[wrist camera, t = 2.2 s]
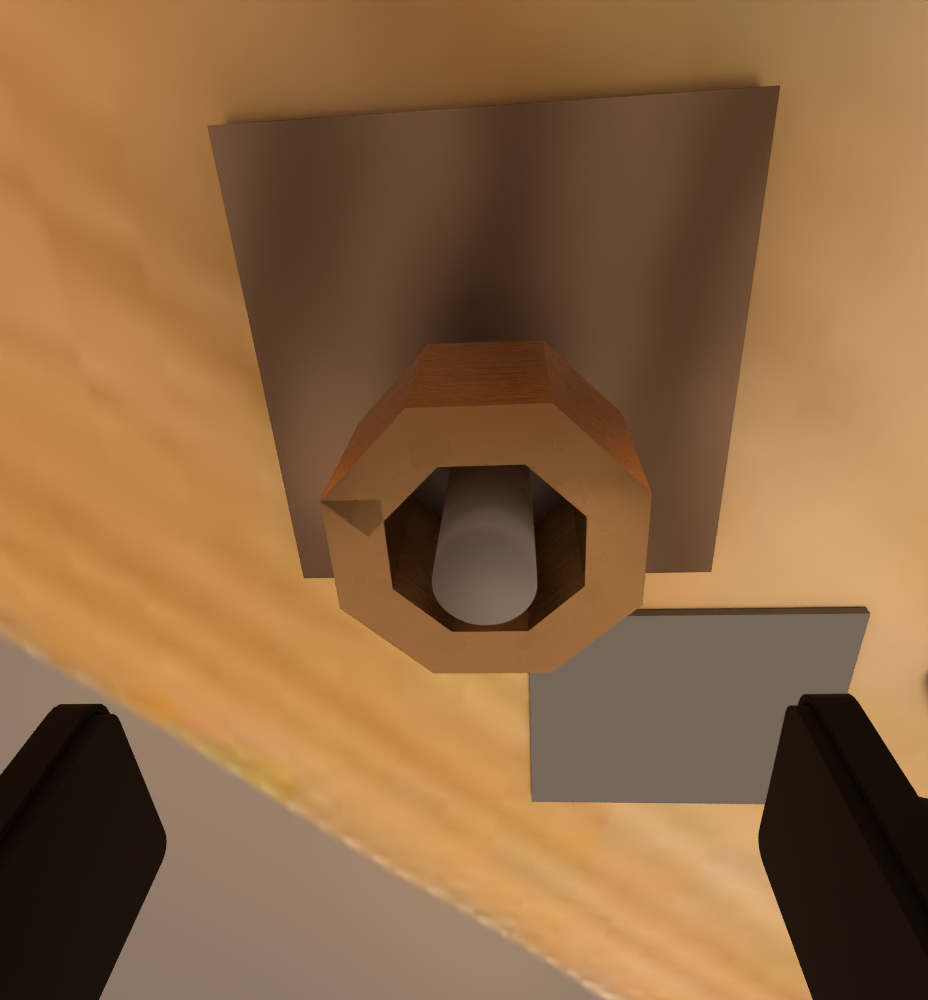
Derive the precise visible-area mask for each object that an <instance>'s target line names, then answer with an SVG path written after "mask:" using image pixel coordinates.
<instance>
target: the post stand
mask: <svg viewBox="0 0 928 1000" xmlns="http://www.w3.org/2000/svg"><path fill="white" fill-rule="evenodd" d="M779 90H780V86H765V87H751V88H737V89H723V90H709V91H694V92H680V93H666V94H652V95H637V96H623V97H609V98H595V99H581V100H566V101H552V102H538V103H524V104H510V105H495V106H481V107H467V108H453V109H438V110H424V111H410V112H396V113H382V114H367V115H353V116H339V117H325V118H311V119H296V120H282V121H268V122H254V123H239V124H225V125H211V126H208V130H209V135H210V140H211V144H212V149H213V154H214V158H215V163H216V168H217V172H218V177H219V182H220V187H221V191H222V196H223V201H224V205H225V210H226V215H227V219H228V224H229V229H230V233H231V238H232V243H233V248H234V252H235V257H236V262H237V266H238V271H239V276H240V280H241V285H242V290H243V295H244V299H245V304H246V309H247V313H248V318H249V323H250V327H251V332H252V337H253V341H254V346H255V351H256V356H257V360H258V365H259V370H260V374H261V379H262V384H263V388H264V393H265V398H266V402H267V407H268V412H269V417H270V421H271V426H272V431H273V435H274V440H275V445H276V449H277V454H278V459H279V463H280V468H281V473H282V478H283V482H284V487H285V492H286V496H287V501H288V506H289V510H290V515H291V520H292V525H293V529H294V534H295V539H296V543H297V548H298V553H299V557H300V562H301V567H302V571H303V576H304V578H334V573H333V568H332V562H331V557H330V552H329V546H328V541H327V536H326V530H325V525H324V520H323V514H322V509H321V503H320V500H321V498H322V496H323V494H324V492H325V490H326V488H327V486H328V484H329V482H330V480H331V478H332V476H333V474H334V472H335V470H336V468H337V466H338V464H339V462H340V460H341V458H342V456H343V453H344V451H345V449H346V447H347V445H348V443H349V441H350V439H351V437H352V435H353V433H354V431H355V429H356V427H357V425H358V423H359V422H360V421H361V419H362V418H363V417H364V416H365V415H366V414H367V413H368V412H369V410H370V409H371V408H372V407H373V406H374V405H375V404H376V402H377V401H378V400H379V399H380V398H381V397H382V396H383V395H384V393H385V392H386V391H387V390H388V389H389V388H390V387H391V385H392V384H393V383H394V382H395V381H396V380H397V379H398V378H399V376H400V375H401V374H402V373H403V372H404V371H405V370H406V369H407V367H408V366H409V365H410V364H411V363H412V362H413V361H414V359H415V358H416V357H417V356H418V355H419V354H420V353H421V352H422V350H423V349H424V348H425V347H426V346H427V345H428V344H449V343H472V342H496V341H519V340H542V339H543V340H544V341H545V342H546V343H547V344H548V345H549V346H550V347H551V348H552V349H553V350H554V351H555V352H557V353H558V354H559V355H560V356H561V357H562V358H563V359H564V360H565V361H566V362H567V363H568V364H569V365H570V366H572V367H573V368H574V369H575V370H576V371H577V372H578V373H579V374H580V375H581V376H582V377H583V378H584V379H585V380H587V381H588V382H589V383H590V384H591V385H592V386H593V387H594V388H595V389H596V390H597V391H598V392H599V393H600V394H601V395H603V396H604V397H605V398H606V399H607V400H608V401H609V402H610V403H611V404H612V405H613V406H614V407H615V408H616V409H618V410H619V411H620V412H621V413H622V416H623V418H624V421H625V423H626V426H627V429H628V431H629V434H630V437H631V439H632V442H633V444H634V447H635V450H636V452H637V455H638V457H639V460H640V463H641V465H642V468H643V471H644V473H645V476H646V478H647V481H648V484H649V486H650V489H651V491H652V499H651V511H650V522H649V534H648V546H647V558H646V570H645V573H673V572H711V570H712V563H713V556H714V549H715V542H716V535H717V528H718V521H719V514H720V507H721V499H722V492H723V485H724V478H725V471H726V464H727V457H728V450H729V443H730V436H731V429H732V422H733V415H734V408H735V401H736V393H737V386H738V379H739V372H740V365H741V358H742V351H743V344H744V337H745V330H746V323H747V316H748V309H749V302H750V295H751V288H752V280H753V273H754V266H755V259H756V252H757V245H758V238H759V231H760V224H761V217H762V210H763V203H764V196H765V189H766V182H767V174H768V167H769V160H770V153H771V146H772V139H773V132H774V125H775V118H776V111H777V104H778V97H779ZM415 497H416V498H417V499H419V500H420V501H421V502H422V503H424V504H425V505H426V506H428V507H429V508H430V509H431V510H433V511H434V512H435V513H437V514H438V515H439V516H440V517H442V520H441V526H440V532H439V538H438V544H437V550H436V556H435V562H434V568H433V574H432V588H433V592H434V595H435V597H436V599H437V601H438V602H439V604H440V605H441V606H442V607H443V608H444V609H445V610H446V611H447V612H448V613H449V614H451V615H452V616H454V617H455V618H457V619H459V620H462V621H464V622H467V623H471V624H476V625H496V624H501V623H505V622H508V621H510V620H512V619H514V618H516V617H518V616H519V615H521V614H522V613H523V612H524V611H525V610H526V609H527V608H528V607H529V606H530V605H531V603H532V601H533V600H534V597H535V595H536V591H537V568H536V552H535V536H534V524H535V523H536V522H537V521H539V520H540V519H541V518H542V517H543V516H544V515H545V514H547V513H548V512H549V511H550V510H551V509H552V508H553V507H554V506H556V505H557V504H558V503H559V502H560V501H561V500H562V499H564V497H563V496H562V495H561V494H559V493H558V492H557V491H556V490H555V489H554V488H552V487H551V486H550V485H549V484H548V483H546V482H545V481H544V480H543V479H542V478H541V477H539V476H538V475H537V474H536V473H535V472H534V471H532V470H531V469H530V468H529V467H528V466H527V465H490V466H455V467H437V468H436V469H435V470H434V471H433V472H432V473H431V474H430V475H429V476H428V477H427V478H426V479H425V480H424V481H423V482H422V483H421V484H420V485H419V486H418V487H417V488H416V489H415Z"/></svg>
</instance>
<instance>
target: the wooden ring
mask: <svg viewBox="0 0 928 1000" xmlns="http://www.w3.org/2000/svg"><path fill="white" fill-rule="evenodd" d="M490 465H527V466H528V467H529V468H530V469H531V470H532V471H534V472H535V473H536V474H537V475H538V476H539V477H541V478H542V479H543V480H544V481H545V482H546V483H548V484H549V485H550V486H551V487H552V488H554V489H555V490H556V491H557V492H558V493H559V494H561V495H562V496H563V497H564V499H562V500H561V501H560V502H559V503H558V504H557V505H556V506H554V507H553V508H552V509H551V510H550V511H549V512H548V513H547V514H545V515H544V516H543V517H542V518H541V519H540V520H539V521H537V522H536V523H535V524H534V536H535V552H536V568H537V591H536V595H535V597H534V600H533V601H532V603H531V605H530V606H529V607H528V608H527V609H526V610H525V611H524V612H523V613H522V614H521V615H519V616H518V617H516V618H514V619H512V620H510V621H508V622H505V623H501V624H496V625H476V624H471V623H467V622H464V621H462V620H459V619H457V618H455V617H454V616H452V615H451V614H449V613H448V612H447V611H446V610H445V609H444V608H443V607H442V606H441V605H440V604H439V602H438V601H437V599H436V597H435V595H434V592H433V588H432V574H433V568H434V562H435V556H436V550H437V544H438V538H439V532H440V526H441V520H442V517H440V516H439V515H438V514H437V513H435V512H434V511H433V510H431V509H430V508H429V507H428V506H426V505H425V504H424V503H422V502H421V501H420V500H419V499H417V498H416V497H415V489H416V488H417V487H418V486H419V485H420V484H421V483H422V482H423V481H424V480H425V479H426V478H427V477H428V476H429V475H430V474H431V473H432V472H433V471H434V470H435V469H436V468H437V467H455V466H490ZM651 499H652V491H651V489H650V486H649V484H648V481H647V478H646V476H645V473H644V471H643V468H642V465H641V463H640V460H639V457H638V455H637V452H636V450H635V447H634V444H633V442H632V439H631V437H630V434H629V431H628V429H627V426H626V423H625V421H624V418H623V416H622V413H621V412H620V411H619V410H618V409H616V408H615V407H614V406H613V405H612V404H611V403H610V402H609V401H608V400H607V399H606V398H605V397H604V396H603V395H601V394H600V393H599V392H598V391H597V390H596V389H595V388H594V387H593V386H592V385H591V384H590V383H589V382H588V381H587V380H585V379H584V378H583V377H582V376H581V375H580V374H579V373H578V372H577V371H576V370H575V369H574V368H573V367H572V366H570V365H569V364H568V363H567V362H566V361H565V360H564V359H563V358H562V357H561V356H560V355H559V354H558V353H557V352H555V351H554V350H553V349H552V348H551V347H550V346H549V345H548V344H547V343H546V342H545V341H544V340H543V339H542V340H519V341H496V342H472V343H449V344H428V345H427V346H426V347H425V348H424V349H423V350H422V352H421V353H420V354H419V355H418V356H417V357H416V358H415V359H414V361H413V362H412V363H411V364H410V365H409V366H408V367H407V369H406V370H405V371H404V372H403V373H402V374H401V375H400V376H399V378H398V379H397V380H396V381H395V382H394V383H393V384H392V385H391V387H390V388H389V389H388V390H387V391H386V392H385V393H384V395H383V396H382V397H381V398H380V399H379V400H378V401H377V402H376V404H375V405H374V406H373V407H372V408H371V409H370V410H369V412H368V413H367V414H366V415H365V416H364V417H363V418H362V419H361V421H360V422H359V423H358V425H357V427H356V429H355V431H354V433H353V435H352V437H351V439H350V441H349V443H348V445H347V447H346V449H345V451H344V453H343V456H342V458H341V460H340V462H339V464H338V466H337V468H336V470H335V472H334V474H333V476H332V478H331V480H330V482H329V484H328V486H327V488H326V490H325V492H324V494H323V496H322V498H321V500H320V503H321V509H322V514H323V520H324V525H325V530H326V536H327V541H328V546H329V552H330V557H331V562H332V568H333V573H334V579H335V584H336V589H337V595H338V600H339V605H340V609H342V610H343V611H344V612H346V613H347V614H349V615H350V616H352V617H353V618H355V619H356V620H357V621H359V622H360V623H362V624H363V625H365V626H366V627H368V628H369V629H370V630H372V631H373V632H375V633H376V634H378V635H379V636H381V637H382V638H383V639H385V640H386V641H388V642H389V643H391V644H392V645H394V646H395V647H396V648H398V649H399V650H401V651H402V652H404V653H405V654H406V655H408V656H409V657H411V658H412V659H414V660H415V661H417V662H418V663H419V664H421V665H422V666H424V667H425V668H427V669H428V670H430V671H431V672H432V673H552V672H553V671H555V670H556V669H557V668H559V667H560V666H561V665H563V664H564V663H565V662H567V661H568V660H569V659H571V658H572V657H573V656H575V655H576V654H577V653H579V652H580V651H581V650H583V649H584V648H585V647H587V646H588V645H589V644H591V643H592V642H593V641H595V640H596V639H598V638H599V637H600V636H602V635H603V634H604V633H606V632H607V631H608V630H610V629H611V628H612V627H614V626H615V625H616V624H618V623H619V622H620V621H622V620H623V619H624V618H626V617H627V616H628V615H630V614H631V613H632V612H634V611H635V610H636V609H638V608H639V607H640V606H642V605H643V594H644V582H645V570H646V558H647V546H648V534H649V522H650V511H651Z"/></svg>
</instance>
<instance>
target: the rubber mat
mask: <svg viewBox="0 0 928 1000" xmlns="http://www.w3.org/2000/svg"><path fill="white" fill-rule="evenodd" d="M869 616H870V612H869V611H868V610H867V608H866V607H864V608H776V609H687V610H635V611H634V612H632V613H631V614H630V615H628V616H627V617H626V618H624V619H623V620H622V621H620V622H619V623H618V624H616V625H615V626H614V627H612V628H611V629H610V630H608V631H607V632H606V633H604V634H603V635H602V636H600V637H599V638H598V639H596V640H595V641H593V642H592V643H591V644H589V645H588V646H587V647H585V648H584V649H583V650H581V651H580V652H579V653H577V654H576V655H575V656H573V657H572V658H571V659H569V660H568V661H567V662H565V663H564V664H563V665H561V666H560V667H559V668H557V669H556V670H555V671H553V672H552V673H530V730H531V786H532V802H611V803H704V804H765V802H766V797H767V793H768V788H769V784H770V779H771V775H772V770H773V766H774V761H775V757H776V752H777V748H778V743H779V739H780V734H781V730H782V725H783V721H784V716H785V712H786V709H787V707H788V706H789V705H798V702H799V699H800V697H801V696H802V695H803V694H847V692H848V689H849V685H850V682H851V678H852V675H853V672H854V668H855V665H856V661H857V658H858V654H859V651H860V647H861V644H862V640H863V637H864V634H865V630H866V627H867V623H868V620H869Z"/></svg>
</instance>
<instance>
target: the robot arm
mask: <svg viewBox="0 0 928 1000" xmlns="http://www.w3.org/2000/svg"><path fill="white" fill-rule="evenodd" d="M758 839H759V850H760V854H761V858H762V862H763V865H764V867H765V870H766V873H767V876H768V878H769V881H770V884H771V887H772V889H773V892H774V895H775V898H776V900H777V903H778V906H779V908H780V911H781V914H782V917H783V919H784V922H785V925H786V928H787V930H788V933H789V936H790V938H791V941H792V944H793V947H794V949H795V952H796V955H797V958H798V960H799V963H800V966H801V968H802V971H803V974H804V977H805V979H806V982H807V985H808V988H809V990H810V993H811V996H812V999H813V1000H928V799H927V798H922V797H918V795H917V793H916V792H915V790H914V789H913V787H912V786H911V784H910V782H909V781H908V779H907V778H906V776H905V775H904V773H903V771H902V770H901V768H900V767H899V765H898V764H897V762H896V761H895V759H894V757H893V756H892V754H891V753H890V751H889V750H888V748H887V746H886V745H885V743H884V742H883V740H882V739H881V737H880V735H879V734H878V732H877V731H876V729H875V728H874V726H873V724H872V723H871V721H870V720H869V718H868V717H867V715H866V714H865V712H864V710H863V709H862V707H861V706H860V704H859V703H858V701H857V700H856V699H855V698H854V697H853V696H852V695H850V694H849V693H848V694H803V695H802V696H801V697H800V699H799V702H798V705H789V706H788V707H787V709H786V712H785V716H784V721H783V725H782V730H781V734H780V739H779V743H778V748H777V752H776V757H775V761H774V766H773V770H772V775H771V779H770V784H769V788H768V793H767V797H766V802H765V806H764V811H763V815H762V820H761V824H760V829H759V836H758ZM165 851H166V834H165V831H164V828H163V826H162V823H161V821H160V818H159V816H158V813H157V811H156V809H155V806H154V804H153V801H152V799H151V796H150V794H149V791H148V789H147V787H146V784H145V781H144V779H143V777H142V774H141V772H140V769H139V767H138V764H137V762H136V759H135V757H134V755H133V752H132V750H131V747H130V745H129V742H128V740H127V737H126V735H125V732H124V730H123V728H122V725H121V723H120V721H119V719H118V717H117V716H116V715H114V714H110V712H109V711H108V709H107V708H106V706H104V705H102V704H60V705H58V706H56V707H54V708H53V709H52V710H51V711H50V713H48V714H47V716H46V717H45V718H44V720H43V721H42V722H41V723H40V725H39V726H38V727H37V729H36V730H35V731H34V733H33V734H32V735H31V736H30V738H29V739H28V740H27V742H26V743H25V744H24V746H23V747H22V748H21V749H20V751H19V752H18V753H17V754H16V756H15V757H14V758H13V760H12V761H11V762H10V764H9V765H8V766H7V768H6V769H5V770H4V771H3V773H2V774H1V775H0V1000H99V998H100V996H101V994H102V992H103V990H104V987H105V985H106V983H107V981H108V979H109V977H110V974H111V972H112V970H113V968H114V966H115V963H116V961H117V959H118V957H119V955H120V953H121V950H122V948H123V946H124V944H125V942H126V939H127V937H128V935H129V933H130V931H131V929H132V926H133V924H134V922H135V920H136V918H137V915H138V913H139V911H140V909H141V907H142V905H143V902H144V900H145V898H146V896H147V894H148V892H149V889H150V887H151V885H152V883H153V880H154V879H155V876H156V874H157V872H158V870H159V868H160V865H161V863H162V860H163V858H164V855H165Z"/></svg>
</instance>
